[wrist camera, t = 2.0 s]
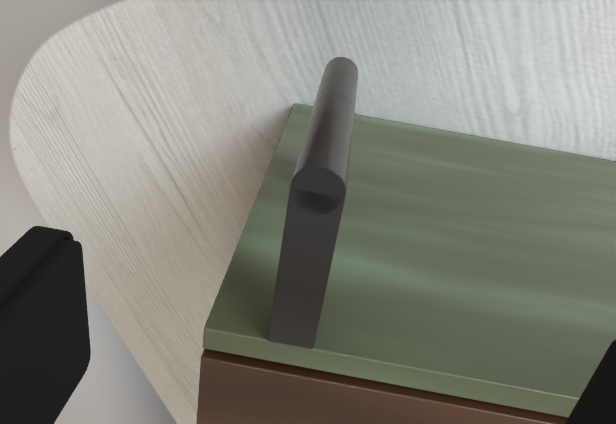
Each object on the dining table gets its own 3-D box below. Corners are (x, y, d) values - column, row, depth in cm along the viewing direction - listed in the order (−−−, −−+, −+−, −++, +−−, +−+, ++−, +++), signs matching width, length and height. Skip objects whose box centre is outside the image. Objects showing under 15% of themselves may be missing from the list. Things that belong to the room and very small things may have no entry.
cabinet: (291, 118, 40) (200, 357, 19) (646, 182, 39) (949, 499, 18) (265, 306, 49) (184, 605, 28) (552, 360, 48) (685, 705, 28)
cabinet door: (308, 3, 35) (215, 146, 15) (705, 74, 35) (1172, 321, 14) (292, 116, 39) (201, 350, 19) (648, 180, 39) (952, 493, 18)
